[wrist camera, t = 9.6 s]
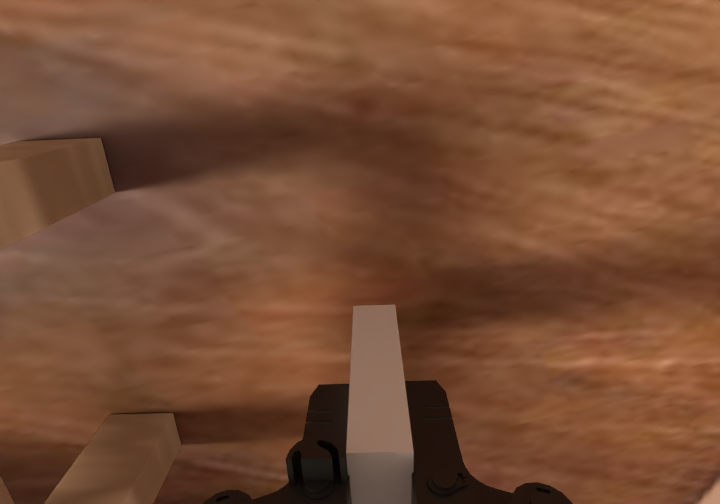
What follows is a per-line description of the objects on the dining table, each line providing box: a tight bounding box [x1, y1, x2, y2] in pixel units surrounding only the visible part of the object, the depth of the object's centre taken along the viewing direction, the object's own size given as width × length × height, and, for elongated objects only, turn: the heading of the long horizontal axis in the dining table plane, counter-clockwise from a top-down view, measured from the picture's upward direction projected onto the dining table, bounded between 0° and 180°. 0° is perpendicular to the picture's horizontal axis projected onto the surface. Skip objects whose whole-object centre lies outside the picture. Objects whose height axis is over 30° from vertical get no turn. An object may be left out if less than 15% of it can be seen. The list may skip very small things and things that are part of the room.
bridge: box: [0, 138, 181, 504], centre depth 14 cm, size 3×14×9 cm, turn 2°
